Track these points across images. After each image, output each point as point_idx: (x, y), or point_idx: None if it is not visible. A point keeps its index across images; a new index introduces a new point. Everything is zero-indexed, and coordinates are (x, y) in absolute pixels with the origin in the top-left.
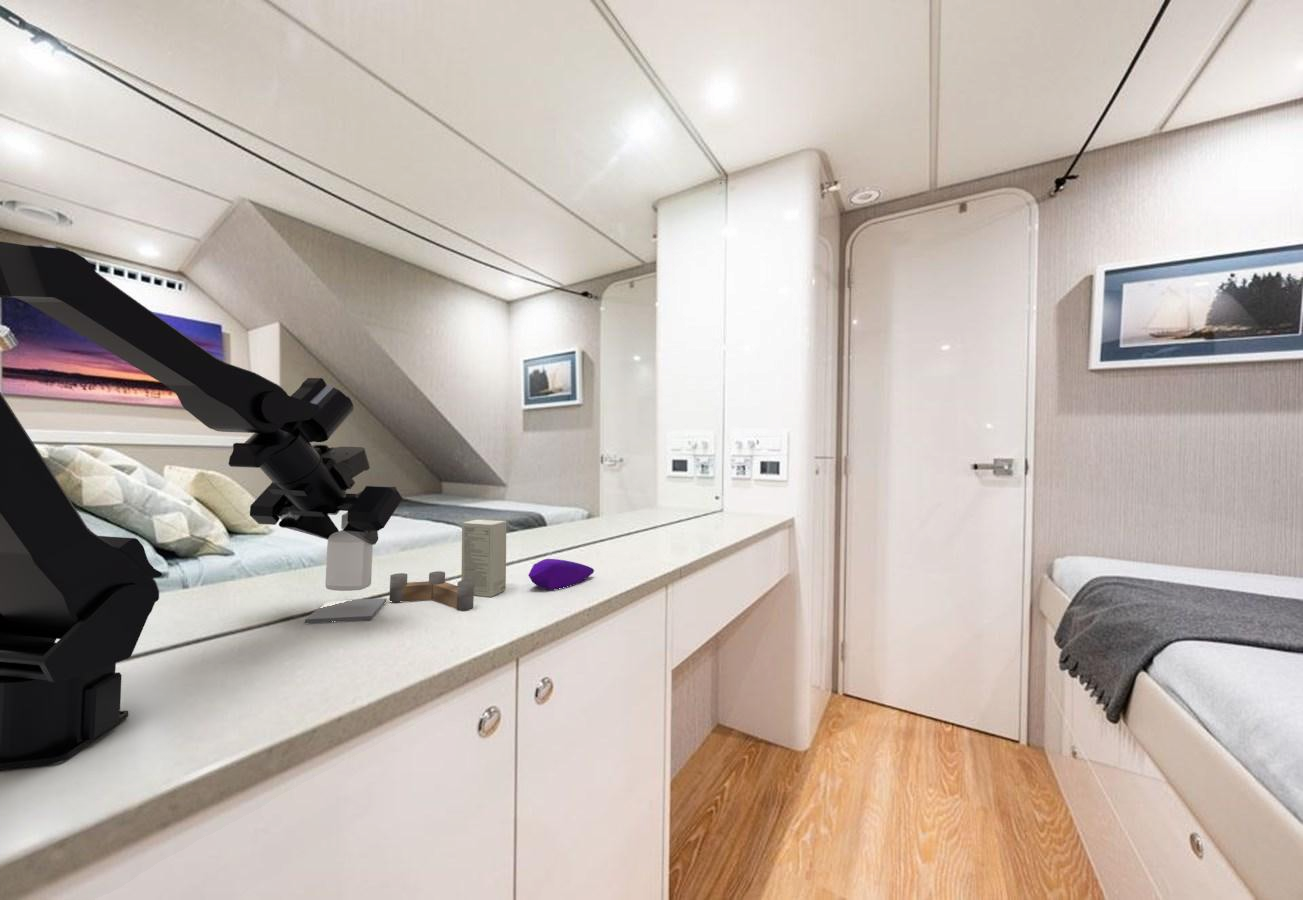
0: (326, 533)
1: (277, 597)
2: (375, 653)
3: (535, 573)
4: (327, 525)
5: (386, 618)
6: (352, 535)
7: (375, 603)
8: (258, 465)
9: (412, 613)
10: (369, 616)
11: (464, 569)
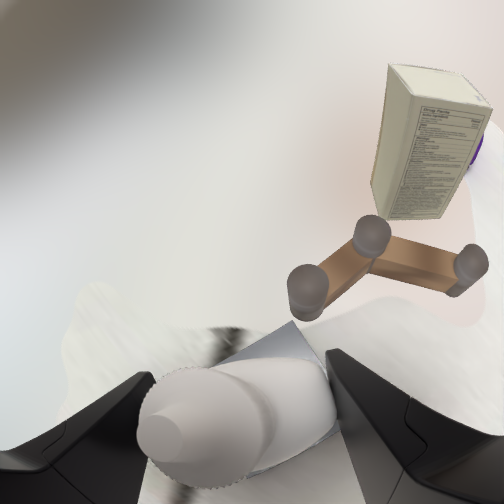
0: (138, 453)
1: (85, 363)
2: None
3: None
4: (114, 451)
5: None
6: (284, 455)
7: (300, 358)
8: None
9: (398, 350)
10: None
11: (398, 188)
